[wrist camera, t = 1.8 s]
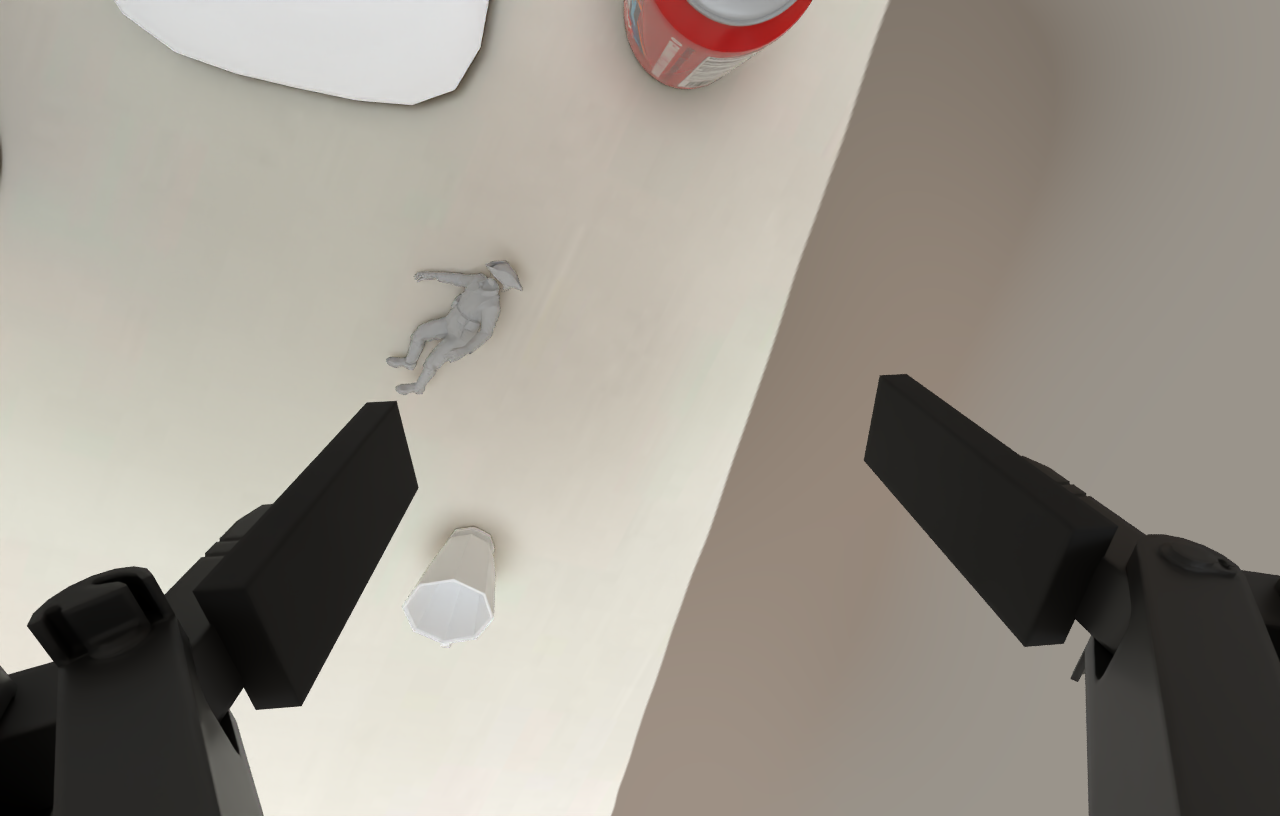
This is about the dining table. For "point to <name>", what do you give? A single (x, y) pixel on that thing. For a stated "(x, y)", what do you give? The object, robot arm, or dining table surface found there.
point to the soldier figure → (457, 321)
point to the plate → (326, 42)
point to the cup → (455, 590)
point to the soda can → (704, 35)
